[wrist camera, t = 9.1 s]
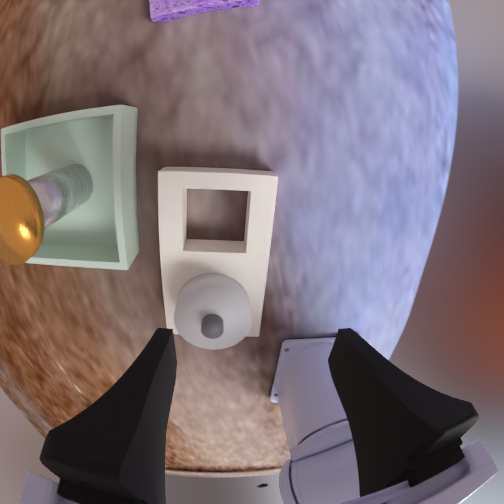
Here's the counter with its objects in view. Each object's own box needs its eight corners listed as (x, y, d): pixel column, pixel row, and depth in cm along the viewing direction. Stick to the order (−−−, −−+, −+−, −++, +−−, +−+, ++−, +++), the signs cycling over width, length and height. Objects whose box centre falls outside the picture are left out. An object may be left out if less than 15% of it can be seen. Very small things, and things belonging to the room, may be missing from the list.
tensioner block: (256, 320, 23) (263, 363, 18) (171, 317, 22) (162, 359, 17) (272, 171, 18) (288, 185, 13) (165, 166, 17) (144, 180, 12)
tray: (139, 250, 19) (127, 270, 16) (36, 246, 18) (17, 262, 15) (138, 107, 15) (122, 104, 12) (25, 125, 14) (1, 128, 11)
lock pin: (103, 214, 17) (44, 267, 10) (55, 215, 17) (-10, 262, 10) (100, 151, 15) (28, 172, 8) (50, 156, 15) (-25, 182, 8)
